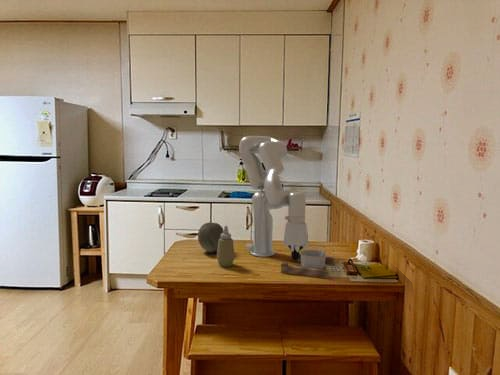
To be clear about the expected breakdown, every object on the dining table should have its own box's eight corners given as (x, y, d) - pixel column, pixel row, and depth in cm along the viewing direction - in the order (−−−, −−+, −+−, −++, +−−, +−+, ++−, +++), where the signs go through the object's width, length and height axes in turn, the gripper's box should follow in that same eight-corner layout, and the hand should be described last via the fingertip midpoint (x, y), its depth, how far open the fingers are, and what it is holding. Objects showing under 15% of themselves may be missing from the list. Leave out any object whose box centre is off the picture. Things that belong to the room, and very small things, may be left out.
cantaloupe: (230, 250, 198) (231, 222, 197) (213, 257, 186) (213, 227, 185) (209, 246, 206) (209, 218, 204) (191, 252, 194) (191, 223, 192)
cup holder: (280, 272, 166) (281, 264, 166) (292, 258, 186) (292, 251, 186) (327, 278, 160) (328, 269, 159) (334, 263, 180) (334, 255, 179)
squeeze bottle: (237, 263, 178) (237, 225, 176) (230, 268, 170) (230, 228, 168) (220, 261, 180) (221, 223, 178) (213, 266, 173) (213, 227, 171)
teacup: (324, 275, 164) (325, 256, 163) (298, 272, 167) (299, 254, 166) (325, 265, 178) (326, 248, 177) (301, 263, 180) (302, 246, 179)
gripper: (278, 219, 171) (277, 260, 173) (311, 222, 166) (310, 264, 168) (282, 217, 178) (281, 255, 180) (314, 219, 173) (313, 259, 175)
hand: (295, 259), depth 174 cm, fingers closed
